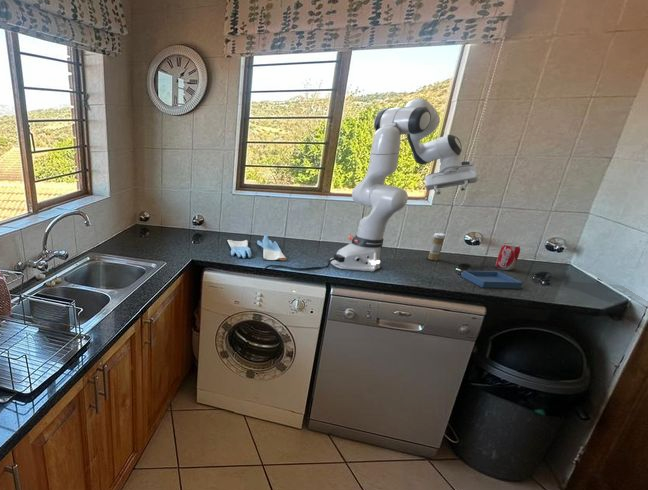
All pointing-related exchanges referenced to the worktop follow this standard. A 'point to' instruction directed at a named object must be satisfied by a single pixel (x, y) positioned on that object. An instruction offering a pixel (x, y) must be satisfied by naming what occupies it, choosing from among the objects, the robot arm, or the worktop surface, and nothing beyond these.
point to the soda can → (508, 256)
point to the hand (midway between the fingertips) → (450, 191)
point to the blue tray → (491, 279)
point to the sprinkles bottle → (436, 246)
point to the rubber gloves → (269, 248)
